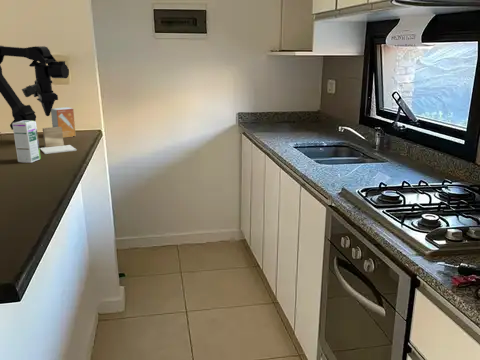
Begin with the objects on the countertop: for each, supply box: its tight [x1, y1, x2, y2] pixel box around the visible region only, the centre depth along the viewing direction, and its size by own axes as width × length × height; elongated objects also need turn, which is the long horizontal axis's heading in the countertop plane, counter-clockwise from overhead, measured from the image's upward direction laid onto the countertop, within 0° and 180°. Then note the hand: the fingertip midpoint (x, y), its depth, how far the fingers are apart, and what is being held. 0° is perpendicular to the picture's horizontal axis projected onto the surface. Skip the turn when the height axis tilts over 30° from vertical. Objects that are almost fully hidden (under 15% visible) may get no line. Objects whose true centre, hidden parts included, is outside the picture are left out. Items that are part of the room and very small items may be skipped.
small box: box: [50, 106, 77, 139], centre depth 212 cm, size 8×6×13 cm
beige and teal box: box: [42, 126, 65, 148], centre depth 191 cm, size 3×7×8 cm, turn 123°
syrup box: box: [11, 120, 42, 164], centre depth 167 cm, size 6×6×14 cm
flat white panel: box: [39, 144, 77, 155], centre depth 187 cm, size 10×12×1 cm
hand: (47, 115), depth 195 cm, fingers closed
